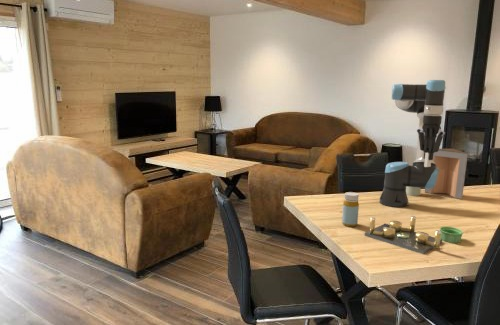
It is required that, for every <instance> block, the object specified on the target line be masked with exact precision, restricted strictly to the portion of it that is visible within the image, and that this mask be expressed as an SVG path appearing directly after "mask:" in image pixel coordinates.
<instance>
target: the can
mask: <svg viewBox="0 0 500 325" xmlns="http://www.w3.org/2000/svg"><path fill="white" fill-rule="evenodd" d="M421 189H422V188H417V187H407V186H406V194H407V196H410V197H419V196H420V197H421Z"/></svg>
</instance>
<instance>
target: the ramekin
mask: <svg viewBox="0 0 500 325" xmlns="http://www.w3.org/2000/svg"><path fill="white" fill-rule="evenodd" d="M439 231H441V238H440V239H442V242H446V243H449V244H458V243H461V241H462V236H463V234H464V231H463V230H462V229H460V228H457V227H452V226H441V227H440V228H439Z"/></svg>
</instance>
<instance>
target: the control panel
mask: <svg viewBox="0 0 500 325" xmlns="http://www.w3.org/2000/svg"><path fill="white" fill-rule="evenodd" d="M389 226H390V223H389V224H388V223H383V224H381V225H379V226H377V227H375V228H374V231H379V232H383V228H384V227H389ZM416 232H417V231H414V232H409V231H402V230H401V231H395V237H394V238H387V237H384V236H383V235H378V234H371V233H369V230H368V231H365V232H364V236H366V237H368V238H372V239H375V240H378V241H381V242H385V243H387V244H390V245H394V246H397V247H400V248H403V249H406V250H409V251H413V252H415V253H418V254H422V255H425V254H427V253H428V252H430V251H431V250H433V249H434V248H435V247H433V246H431V245H428V244H426V243H419V242H416V241H415V235H416ZM428 241H430V242H433V243H434V241H435V236H431V235H429V238H428ZM442 243H443V240H442V239H440V244H442Z"/></svg>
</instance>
